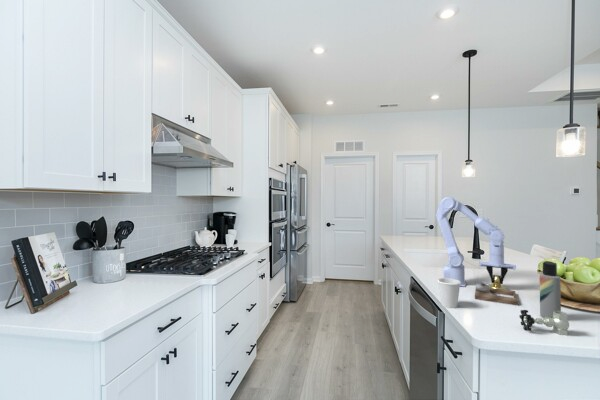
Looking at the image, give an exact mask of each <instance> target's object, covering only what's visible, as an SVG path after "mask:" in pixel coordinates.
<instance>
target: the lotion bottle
mask: <svg viewBox="0 0 600 400" xmlns="http://www.w3.org/2000/svg"><path fill="white" fill-rule="evenodd" d="M557 268H558V266H557V263H556V262H553V261H548V260H547V261H546V260H545V261H542V273H540V274H539V315H540V317H541V318H542V319H544V318H545V317H550V318H553V311H562V303H561V301H562V299H561V298H562V295H561V291H562V290H561V287H562V286H561V276H559V275H558V269H557Z"/></svg>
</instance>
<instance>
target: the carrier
mask: <svg viewBox="0 0 600 400" xmlns="http://www.w3.org/2000/svg"><path fill="white" fill-rule="evenodd" d="M488 285H489V284H485V283H484V282H480V283H476V285H475V291H474V300H478V301H479V300H480V301H485V302H491V303H492V302H493V303H499V304H506V305H513V306H519V299H518V297H517V292H516V291H515V290H511V289H506V290H503V289H495V288H489V286H488ZM495 294H496V295H495ZM497 294H498V295H497ZM511 296H512V297H511Z"/></svg>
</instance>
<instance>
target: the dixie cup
mask: <svg viewBox="0 0 600 400" xmlns="http://www.w3.org/2000/svg"><path fill="white" fill-rule="evenodd" d="M437 282H438V283H437V284H438V289H439V296H440V304H441V306H442V307H444V308H448V309H457V308H458V304H459V303H458V302H459V297H460V296H459V295H460V288H461V286H460V284H461V282H460V281H458V280H455V279H449V278H438V279H437Z"/></svg>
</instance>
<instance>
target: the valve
mask: <svg viewBox="0 0 600 400" xmlns="http://www.w3.org/2000/svg"><path fill="white" fill-rule="evenodd" d="M528 313H529V310H528V309H521V310H520V315H519V316H518V317H519V318H520V319H521V321H520V325H521V326H523V330H524V331H532V328H531V327H533V325H535V324H537V325H544V326H546V327H547V328H552V332H553V333H554V334H556V335H560V336H568V329H569V327H570V322H569V320H568V313H567V312H564V311H562V310H561V311H553V318H550V317H545V318H543V317H541V318H540V317H536V318H534V317H532V315H531V314H528Z"/></svg>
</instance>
